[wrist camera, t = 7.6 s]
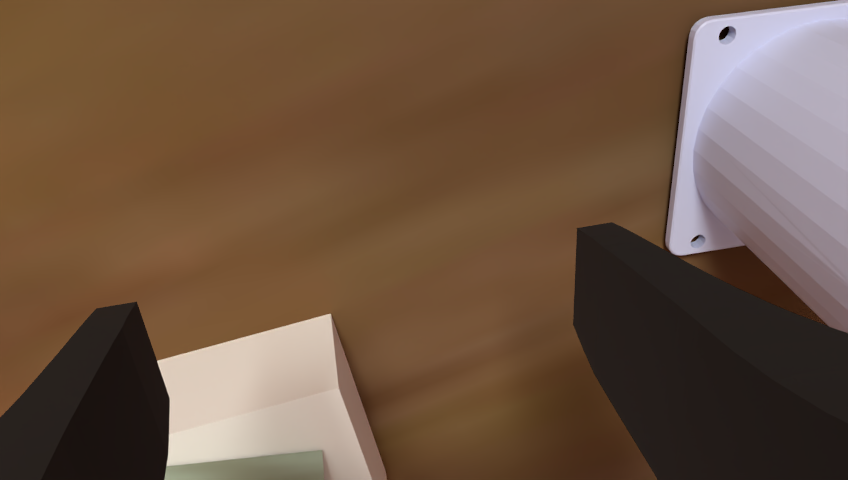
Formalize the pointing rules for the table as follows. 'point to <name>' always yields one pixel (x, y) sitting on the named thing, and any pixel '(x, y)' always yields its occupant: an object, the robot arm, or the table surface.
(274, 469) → the green cube
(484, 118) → the table surface
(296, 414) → the cream base block
